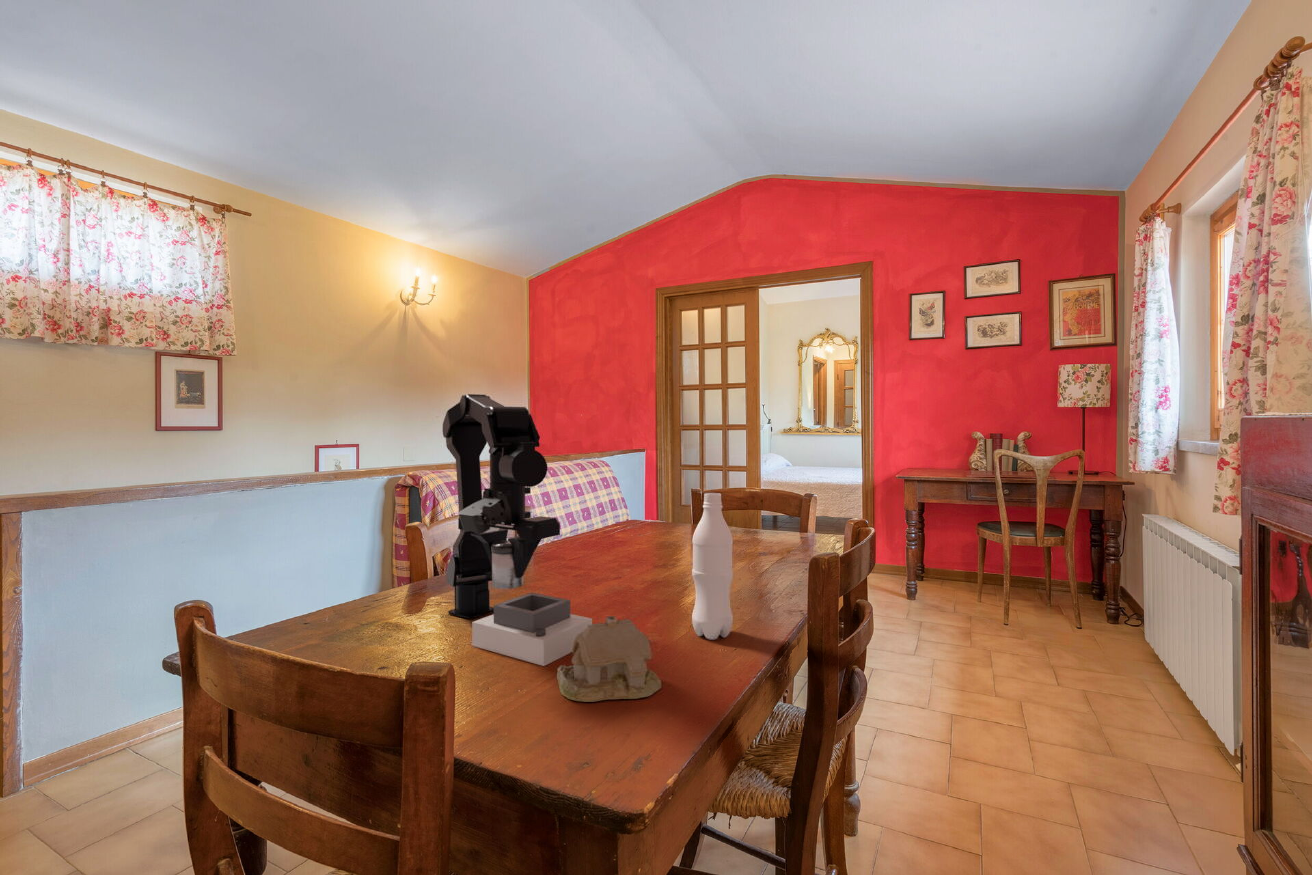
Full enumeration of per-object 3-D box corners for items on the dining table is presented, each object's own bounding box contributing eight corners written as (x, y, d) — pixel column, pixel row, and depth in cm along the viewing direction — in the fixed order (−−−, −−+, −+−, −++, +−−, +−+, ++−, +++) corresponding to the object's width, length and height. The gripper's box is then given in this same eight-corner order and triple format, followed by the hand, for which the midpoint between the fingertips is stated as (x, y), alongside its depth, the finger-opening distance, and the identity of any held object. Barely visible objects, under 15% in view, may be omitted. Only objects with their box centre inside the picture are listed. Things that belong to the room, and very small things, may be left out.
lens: (484, 585, 97) (484, 543, 97) (508, 579, 102) (508, 538, 101) (506, 590, 94) (506, 547, 94) (530, 583, 99) (530, 541, 99)
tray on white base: (472, 645, 99) (472, 604, 99) (523, 625, 109) (523, 587, 109) (543, 666, 90) (543, 620, 90) (591, 641, 101) (591, 601, 101)
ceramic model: (640, 664, 91) (640, 600, 91) (671, 694, 81) (671, 622, 81) (551, 680, 86) (551, 612, 86) (572, 714, 76) (572, 637, 75)
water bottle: (706, 644, 99) (706, 497, 99) (684, 631, 106) (684, 492, 105) (740, 637, 103) (741, 494, 102) (718, 625, 109) (718, 490, 109)
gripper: (430, 482, 96) (431, 577, 96) (509, 489, 86) (510, 595, 86) (484, 477, 105) (485, 564, 106) (562, 483, 95) (562, 579, 95)
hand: (508, 575), depth 98 cm, fingers closed on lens, 5 cm apart
